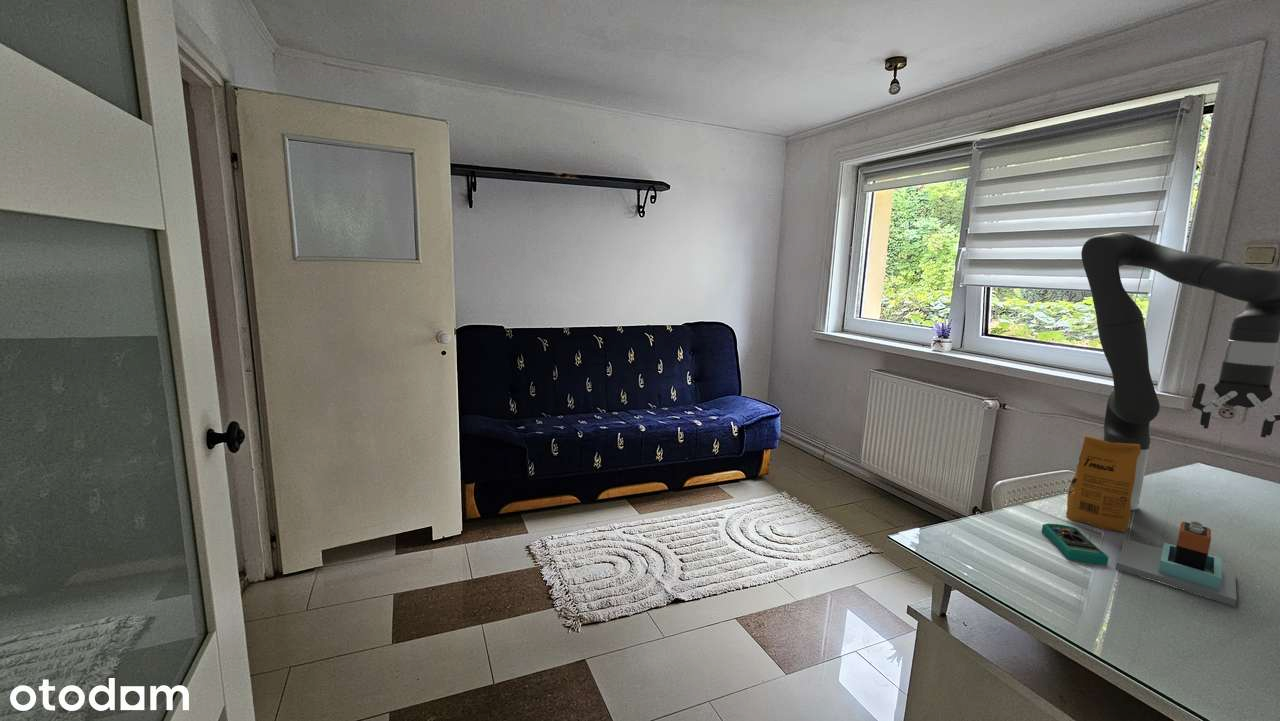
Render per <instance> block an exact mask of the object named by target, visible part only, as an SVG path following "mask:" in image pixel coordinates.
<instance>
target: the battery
mask: <svg viewBox="0 0 1280 721" xmlns="http://www.w3.org/2000/svg"><path fill="white" fill-rule="evenodd" d="M1211 540H1212V529H1211V528H1210V527H1206V526H1203V524H1202V523H1201V522H1197V521H1191V522H1188V521H1181V523H1180V527H1179V531H1178V538H1177V541H1176V551H1175V556H1174V563H1178V564H1181V565H1184V566H1188V567H1191V568H1195V569H1198V570H1202V571H1205V566H1206V561H1207V556H1208V555H1209V550H1210V547H1211V542H1212V541H1211Z"/></svg>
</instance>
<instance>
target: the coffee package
mask: <svg viewBox="0 0 1280 721" xmlns="http://www.w3.org/2000/svg"><path fill="white" fill-rule="evenodd" d="M1140 447H1141V446H1140V444H1127V443H1111V442H1107V441H1104V439H1101V438H1096V437H1093V436H1089V435H1085V437H1084V440H1083V443H1082V448H1081V451H1080V454H1079V457H1078V460H1079V461H1078V463H1077V466H1076V472H1074V476H1073V477H1072V480H1071V483H1070V485H1069V488H1068V493H1067V498H1066V501H1067V502H1066V505H1067V506H1066V512H1065V513H1066V517H1067V518H1068V519H1069V520H1070V521H1074V522H1078V523H1079V522H1080V523H1087V524H1089V525H1091V526H1093V527H1095V528H1099V529H1102V530H1108V531H1109V530H1110V531H1114V532H1115V531H1116V532H1121V533H1125V532H1126V531H1127V529H1128V528H1129V526H1130V521H1131V511H1132V510H1131V496H1132V490H1133V487H1134V481H1135V473H1136V465H1137V458H1138V457H1139V455H1140V452H1141V448H1140Z"/></svg>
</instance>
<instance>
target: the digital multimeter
mask: <svg viewBox="0 0 1280 721" xmlns="http://www.w3.org/2000/svg"><path fill="white" fill-rule="evenodd" d="M1041 532H1042V533H1043V534H1044V536H1046V537H1047V538H1048V539H1049V540H1050V541H1051V542H1052V543H1053V544H1054V545H1055V546H1056V548H1058V550H1060V552H1061V553H1062V554H1063V555H1064V556H1065V557H1066V559H1067V560H1069V561H1074V562H1080V563H1085V564H1092V565H1100V566H1108V563H1109V556H1108V555H1107V554H1106V553H1105V552H1104V551H1102V550H1101V549H1100V548H1099V547H1098V546H1096V545H1095V544H1094V543H1093V542H1092V541H1091V540H1090V539H1088V538H1087V536H1085V535H1084V534H1083V533H1082V531H1080V529H1078V527H1074V526H1071V525H1065V524H1059V523H1044V524H1042V528H1041Z"/></svg>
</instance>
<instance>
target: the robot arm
mask: <svg viewBox="0 0 1280 721" xmlns="http://www.w3.org/2000/svg"><path fill="white" fill-rule="evenodd" d="M1080 254H1081V261H1082V266H1083V268H1084V272H1085V274H1086V278H1087V281H1088V284H1089V289H1090V292H1091V296H1092V302H1093V307H1094V312H1095V318H1096V325H1097V326H1096V327H1097V332H1098V336H1099V341H1100V345H1101V348H1102V351H1103V354H1104V356H1105V358H1106V361H1107V363H1108V365H1109V367H1110V370H1111V374H1112V380H1113V391H1112V392H1111V393H1110V395H1109V396H1108V398H1107V402H1106V409H1105V416H1104V423H1103V434H1104V436H1103V440H1104V441H1107V442H1111V443H1127V444H1140V446H1141V447H1140V448H1141V452H1140V455H1139V457H1138V458H1137V465H1136V473H1135V481H1134V487H1133V490H1132V496H1131V511H1137V510H1138V509H1139V505H1140V500H1141V494H1142V489H1143V483H1144V478H1145V473H1146V467H1147V462H1148V456H1149V450H1150V445H1151V437H1150V423H1151V421H1153V420H1154V419H1155V418H1156V417H1157V416H1158V414H1159V412H1160V409H1161V406H1160V402H1159V398H1158V395H1157V392H1156V389H1155V387H1154V383H1153V379H1152V376H1151V372H1150V371H1151V370H1150V365H1149V364H1150V363H1149V349H1148V340H1147V339H1148V338H1147V333H1146V327H1145V326H1146V325H1145V320H1144V316H1143V312H1142V310H1141V309H1140V307H1139V305H1138V304H1137V303H1136V302H1135V300H1133V298H1132V297H1131V296H1130V294H1129V293H1128V292H1127V291H1126V290H1125V288H1124V286H1123V283H1122V279H1121V274H1120V267H1122V266H1129V267H1140V268H1145V269H1149V270H1152V271H1156V272H1157V273H1160V274H1161V275H1163V276H1165V277H1166V278H1168V279H1170V280H1172V281H1174V282H1177V283H1181V284H1183V285H1187V286H1190V287H1191V286H1192V287H1195V288H1199V289H1202V290H1207V291H1213V292H1215V293H1218V294H1220V295H1224V296H1225V297H1228V298H1230V299H1234V300H1237V301H1242V302H1246V306H1245V308H1244V310H1243V311H1242V313H1240V314H1237V315H1236V316H1235V317H1234V318H1233V320H1232V322H1231V326H1230V327H1231V328H1230V332H1229V337H1228V342H1227V344H1226V346H1225V348H1224V353H1223V355H1222V358H1223V359H1222V364H1221V369H1220V372H1219V379H1218V382H1217V383H1216V384H1210V383H1205V382H1203V381H1200V382H1198V383H1197V385H1196V389H1195V393H1194V396H1193V400H1192V403H1191V407H1192V408H1193V409H1197V410H1200V412H1201V416H1200V421H1199V424H1200V425H1201V426H1203V429H1209V425H1210V421H1211V415H1212V411H1213V410H1214V409H1216V408H1218V407H1220V406H1221V405H1223V404H1226V405H1228V406H1231V407H1237V406H1238V407H1243V408H1247V409H1250V408H1256V409H1257V411H1259V412H1260V413H1261V414H1262V416H1263V417H1264V418H1263V421H1262V424H1261V425H1262V426H1261V431H1260V435H1259V437H1260V438H1264V439H1266V438H1267V436H1271V435H1272V433H1273V428H1274V426H1275V425H1274V424H1275V422H1277V421H1280V413H1272V412H1271V410H1270V409H1269V408H1268V407H1267V406H1266V404H1264V402H1266V400H1268V399H1270V398H1271V397H1273V398H1275V400H1276V401H1277V403H1278V402H1279V403H1280V391H1273V390H1272V389H1271V384H1272V380H1273V376H1274V371H1275V367H1276V366H1275V365H1276V362H1277V357H1278V343H1279V338H1280V270H1277V269H1260V268H1255V267H1249V266H1245V265H1244V266H1243V265H1238V264H1236V263H1234V262H1232V261H1229V260H1226V259H1222V258H1217V257H1211V256H1206V255H1202V254H1196V253H1193V252H1187V251H1183V250H1179V249H1176V248H1171V247H1169V246H1164V245H1161V244H1159V243H1155V242H1153V241H1149V240H1147V239H1145V238H1142V237H1140V236H1138V235H1134V234H1131V233H1129V232H1125V231H1117V232H1111V233H1106V234H1105V233H1104V234H1099V235H1095V236H1093V237H1090V238H1088V239H1087V240H1086V241H1085V242H1084V243H1083V246H1082V248H1081V253H1080ZM1211 390H1214V391H1215V393H1216V394H1217V395H1218V397H1217V398H1215V399H1213V400H1211V401H1210V402H1208V403H1207V404H1203V403H1202V400H1203V395H1204V394H1207V393H1209V392H1210V391H1211Z"/></svg>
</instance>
